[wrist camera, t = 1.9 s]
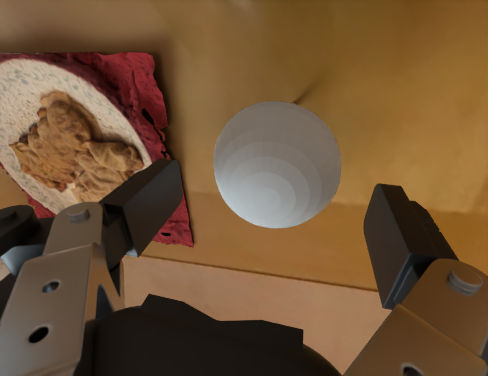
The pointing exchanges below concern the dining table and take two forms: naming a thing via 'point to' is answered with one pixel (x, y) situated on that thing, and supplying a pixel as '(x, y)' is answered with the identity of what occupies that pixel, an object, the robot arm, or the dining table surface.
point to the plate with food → (81, 128)
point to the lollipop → (277, 164)
